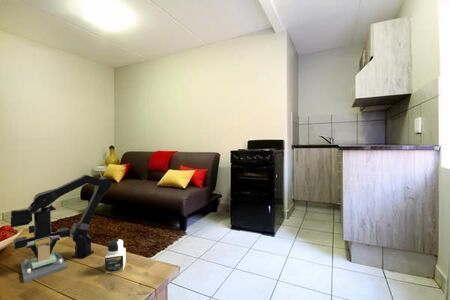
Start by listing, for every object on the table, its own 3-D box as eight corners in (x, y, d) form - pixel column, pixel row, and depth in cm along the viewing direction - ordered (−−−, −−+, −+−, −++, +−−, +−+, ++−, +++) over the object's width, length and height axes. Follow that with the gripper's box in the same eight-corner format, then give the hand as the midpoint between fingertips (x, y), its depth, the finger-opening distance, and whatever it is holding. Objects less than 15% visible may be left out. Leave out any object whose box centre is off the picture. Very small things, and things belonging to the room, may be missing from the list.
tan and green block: (56, 261, 98) (56, 245, 98) (32, 268, 92) (32, 251, 92) (53, 255, 104) (53, 239, 103) (30, 261, 98) (30, 245, 98)
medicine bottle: (104, 273, 93) (104, 245, 92) (108, 265, 99) (108, 238, 99) (123, 271, 95) (123, 243, 94) (125, 262, 101) (125, 236, 101)
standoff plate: (67, 268, 97) (66, 261, 97) (24, 282, 87) (23, 274, 87) (59, 254, 109) (59, 247, 109) (20, 265, 99) (20, 258, 99)
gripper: (64, 213, 110) (65, 243, 110) (12, 222, 97) (13, 257, 97) (69, 218, 102) (70, 251, 103) (13, 229, 89) (14, 267, 89)
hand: (43, 256), depth 98 cm, fingers closed on tan and green block, 4 cm apart
